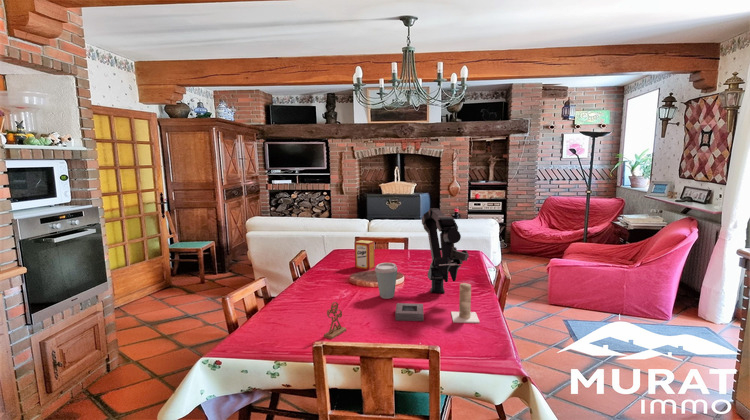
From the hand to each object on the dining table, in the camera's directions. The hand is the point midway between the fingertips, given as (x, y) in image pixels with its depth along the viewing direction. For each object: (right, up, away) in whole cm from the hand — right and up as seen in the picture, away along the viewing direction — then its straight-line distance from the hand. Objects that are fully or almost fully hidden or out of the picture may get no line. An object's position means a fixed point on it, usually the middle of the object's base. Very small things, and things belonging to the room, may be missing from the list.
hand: (450, 281), depth 173 cm
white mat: (+3, -12, -12) cm, 18 cm away
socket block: (-18, -12, -9) cm, 24 cm away
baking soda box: (-38, -3, +64) cm, 75 cm away
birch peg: (+3, -12, -12) cm, 17 cm away
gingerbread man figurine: (-47, -15, -25) cm, 55 cm away
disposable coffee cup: (-27, -10, +14) cm, 32 cm away
